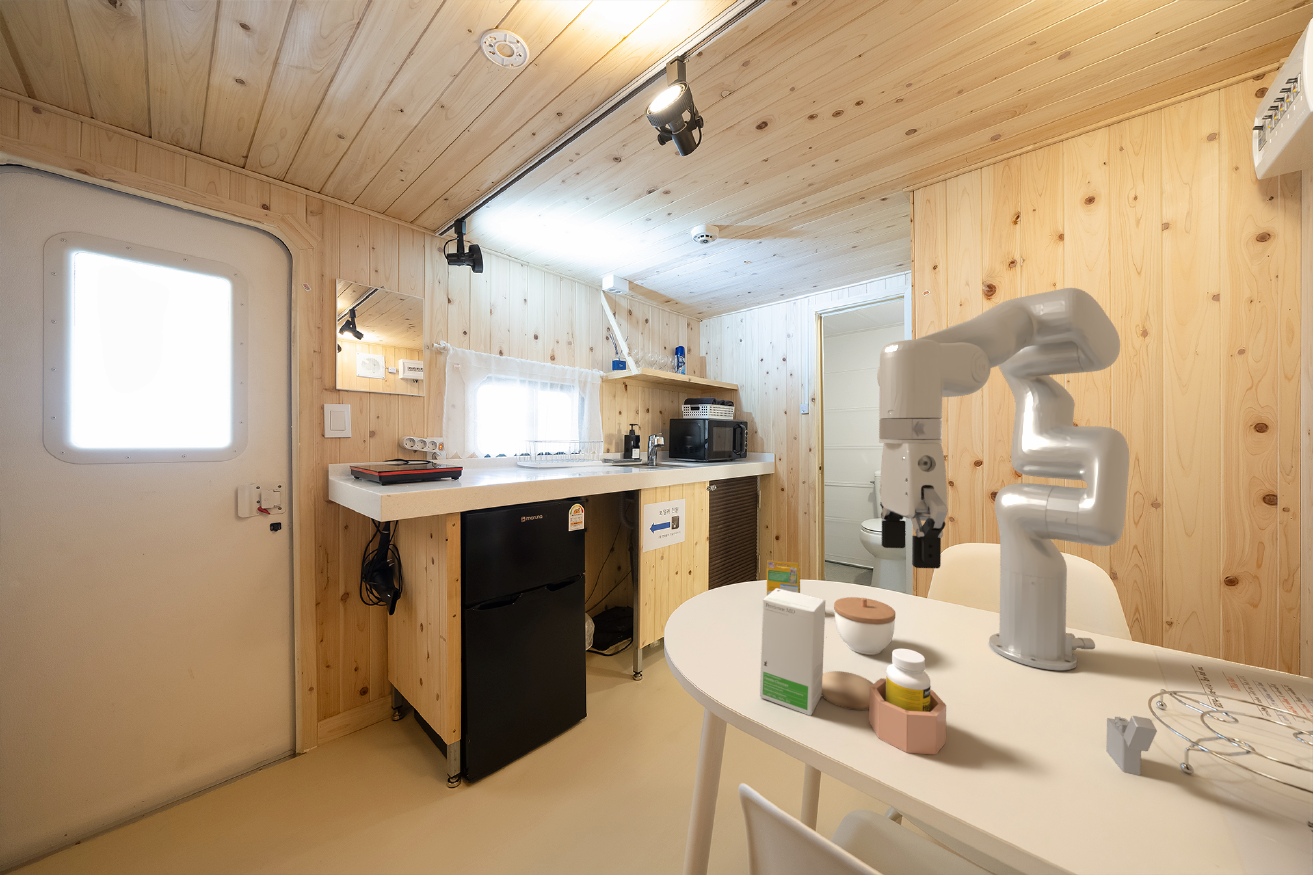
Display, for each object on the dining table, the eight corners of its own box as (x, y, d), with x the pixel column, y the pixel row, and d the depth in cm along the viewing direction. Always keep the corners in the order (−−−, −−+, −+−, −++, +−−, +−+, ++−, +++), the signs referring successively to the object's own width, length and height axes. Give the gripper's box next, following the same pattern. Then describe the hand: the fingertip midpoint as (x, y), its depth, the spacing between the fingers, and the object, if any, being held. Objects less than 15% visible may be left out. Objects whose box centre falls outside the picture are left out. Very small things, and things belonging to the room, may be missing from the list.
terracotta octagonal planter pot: (923, 714, 67) (923, 680, 67) (956, 755, 59) (956, 716, 59) (862, 710, 68) (863, 677, 68) (886, 751, 59) (886, 713, 59)
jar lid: (866, 678, 77) (866, 672, 77) (888, 711, 68) (889, 704, 68) (811, 675, 78) (811, 669, 78) (826, 708, 69) (826, 701, 69)
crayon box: (800, 609, 106) (800, 560, 106) (799, 614, 103) (799, 563, 103) (768, 605, 109) (768, 556, 108) (766, 610, 106) (766, 560, 106)
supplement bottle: (930, 743, 60) (931, 669, 60) (884, 729, 63) (884, 658, 62) (929, 720, 65) (930, 651, 64) (886, 708, 67) (887, 642, 67)
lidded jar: (881, 635, 93) (882, 589, 93) (905, 662, 82) (905, 610, 82) (827, 633, 94) (827, 587, 94) (843, 659, 83) (843, 608, 83)
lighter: (1105, 749, 60) (1106, 689, 60) (1123, 753, 59) (1124, 692, 59) (1135, 789, 53) (1137, 721, 53) (1156, 793, 53) (1157, 724, 52)
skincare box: (758, 698, 71) (759, 598, 71) (773, 679, 77) (774, 586, 76) (813, 717, 67) (814, 610, 66) (825, 695, 72) (826, 596, 72)
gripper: (977, 433, 54) (975, 577, 54) (909, 431, 71) (908, 541, 71) (910, 433, 55) (908, 576, 55) (859, 432, 72) (858, 540, 72)
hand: (908, 556), depth 63 cm, fingers open, 9 cm apart
